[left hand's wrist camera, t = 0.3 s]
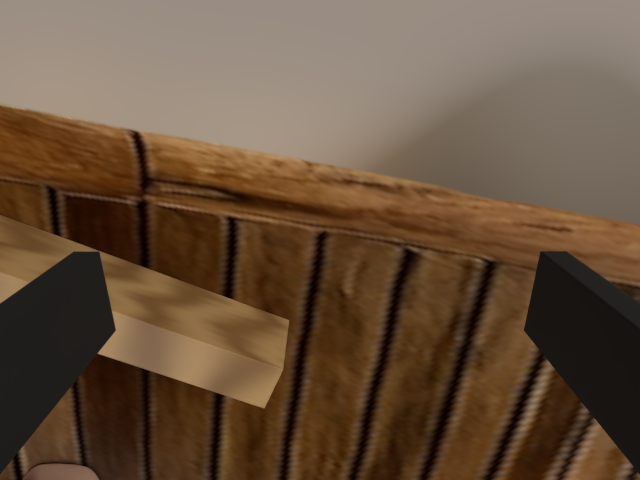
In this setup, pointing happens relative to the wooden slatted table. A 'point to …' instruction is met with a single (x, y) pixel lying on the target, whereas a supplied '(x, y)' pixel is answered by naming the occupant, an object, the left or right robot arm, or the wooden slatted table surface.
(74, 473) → the anatomical model
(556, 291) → the left robot arm
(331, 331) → the wooden slatted table surface
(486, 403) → the wooden slatted table surface
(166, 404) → the wooden slatted table surface
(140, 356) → the bar
